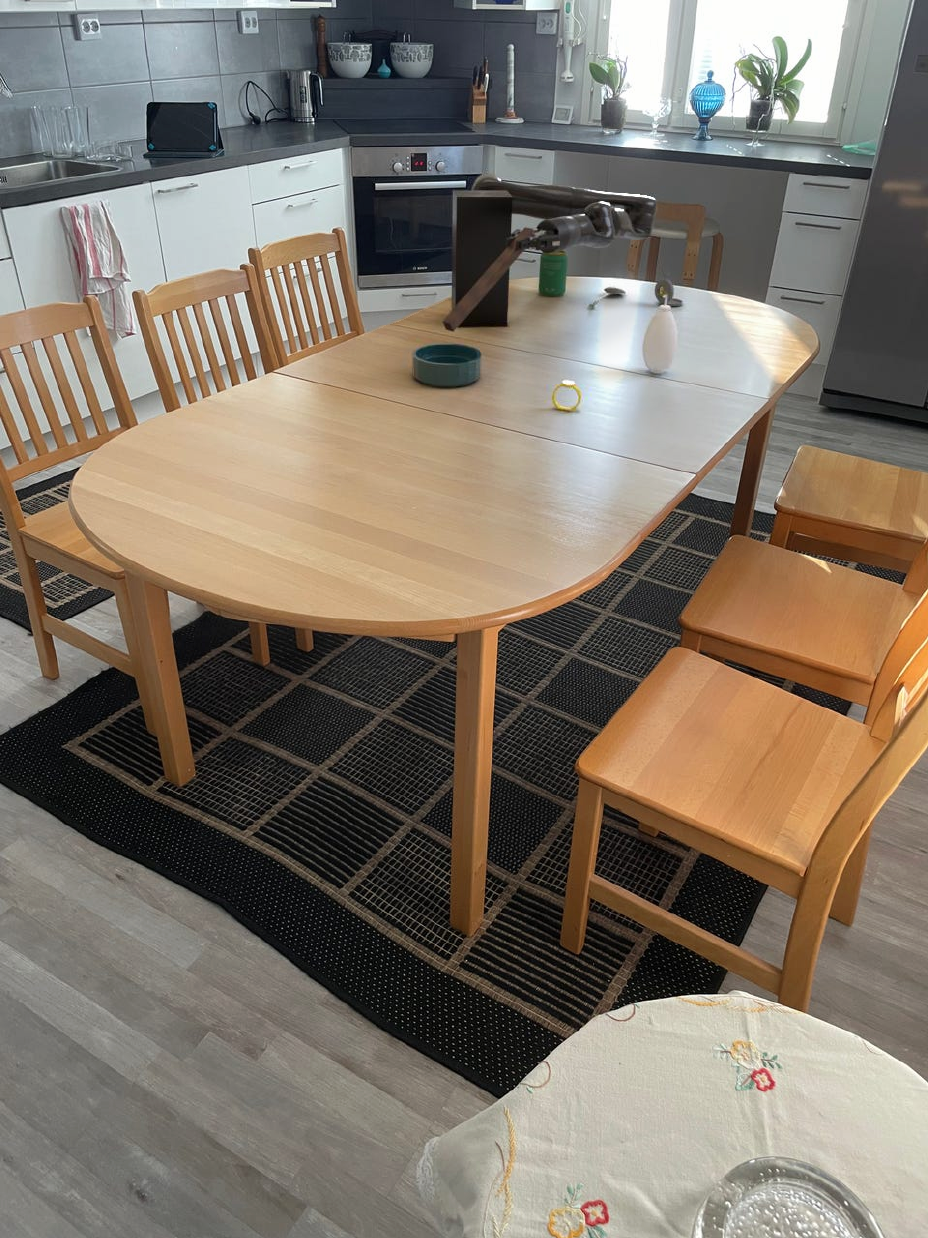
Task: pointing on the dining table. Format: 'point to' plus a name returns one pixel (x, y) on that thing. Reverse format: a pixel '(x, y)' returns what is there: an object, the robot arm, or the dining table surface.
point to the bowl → (446, 365)
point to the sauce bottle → (660, 340)
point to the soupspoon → (609, 291)
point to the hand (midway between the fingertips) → (511, 244)
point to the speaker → (480, 252)
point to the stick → (485, 283)
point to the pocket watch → (666, 289)
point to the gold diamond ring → (568, 385)
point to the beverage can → (553, 274)
